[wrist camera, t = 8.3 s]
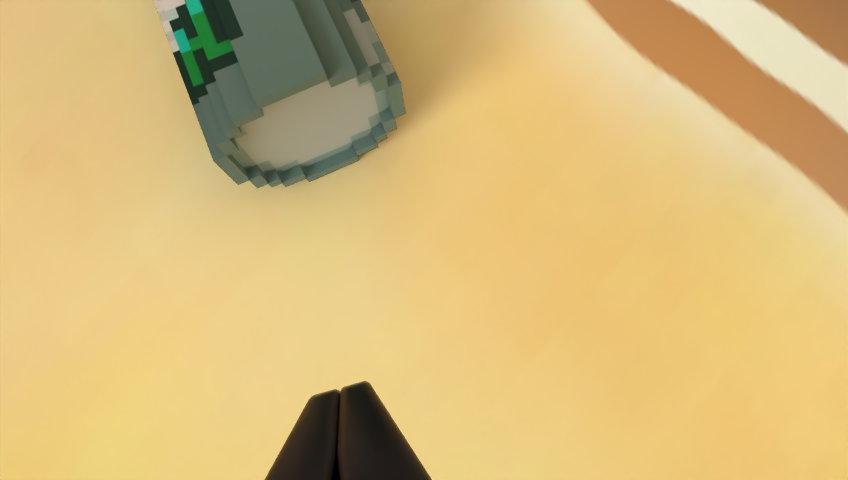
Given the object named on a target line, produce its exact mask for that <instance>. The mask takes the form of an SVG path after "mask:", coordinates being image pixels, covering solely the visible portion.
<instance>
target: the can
mask: <svg viewBox="0 0 848 480" xmlns="http://www.w3.org/2000/svg"><path fill="white" fill-rule="evenodd" d="M153 1H154V4H155V6H156V9H157V12H158V14H159V17H160V20H161V22H162V25H163V28H164V30H165V33H166V36H167V38H168V41H169V44H170V46H171V49H172V52H173V54H174V57H175V59H176V62H177V65H178V67H179V70H180V73H181V75H182V78H183V81H184V83H185V86H186V89H187V91H188V94H189V97H190V99H191V102H192V105H193V107H194V110H195V113H196V115H197V118H198V121H199V123H200V126H201V129H202V131H203V134H204V137H205V139H206V142H207V145H208V147H209V150H210V153H211V155H212V158H213V161H214V162H215V163H216V164H217V165H218V166H219V167H220V168H221V169H222V170H223V171H224V172H225V173H226V174H227V175H228V176H229V177H231V178H232V179H233V180H234V181H235V182H236V183H237V184H238V185H239V184H241V183H244V182H246V181H248V180H250V181H251V182H252V183H253V184H254V185H255V186H256V187H257V188H259V187H262V186H264V185H266V184H269V185H270V186H271V187H274V186H277V185H279V184H281V183H283V184H284V185H285V187H287V186H289V185H291V184H294V183H296V182H298V181H301V180H303V179H305V178H307V180H308V181H309V182H310V181H312V180H315V179H317V178H319V177H322V176H324V175H326V174H329V173H331V172H333V171H336V170H338V169H340V168H343V167H345V166H347V165H350V164H352V163H354V162H357V161H359V157H358V156H359V155H361V154H363V153H366V152H368V151H370V150H373V149H375V148H377V147H378V144H377V142H379V141H382V140H384V139H386V138H387V135H386V133H388V132H390V131H392V130H395V129H397V128H396V123H395V118H396V117H398V116H400V115H403V114H405V107H404V101H403V94H402V88H401V82H400V80H399V78H398V76H397V74H396V72H395V70H394V68H393V66H392V64H391V62H390V60H389V58H388V56H387V54H386V52H385V49H384V47H383V45H382V43H381V41H380V39H379V37H378V35H377V33H376V31H375V29H374V27H373V25H372V23H371V21H370V19H369V17H368V15H367V13H366V11H365V9H364V7H363V5H362V3H361V1H360V0H153Z"/></svg>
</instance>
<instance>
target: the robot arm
mask: <svg viewBox="0 0 848 480" xmlns="http://www.w3.org/2000/svg"><path fill="white" fill-rule="evenodd" d="M265 480H432V479H431V478H430V476H429V475H428V473H427V471H426V470H425V468H424V467H423V465H422V464H421V462H420V461H419V459H418V458H417V456H416V454H415V453H414V451H413V450H412V448H411V447H410V445H409V444H408V442H407V440H406V439H405V437H404V436H403V434H402V433H401V431H400V430H399V428H398V426H397V425H396V423H395V422H394V420H393V419H392V417H391V416H390V414H389V412H388V411H387V409H386V408H385V406H384V405H383V403H382V402H381V400H380V399H379V397H378V395H377V394H376V392H375V391H374V389H373V388H372V386H371V385H370V383H369V382H367V381H363V382H360V383H356V384H352V385H349V386H345V387H343V388H342V389H341V391H339V390H336V389H335V390H331V391H327V392H324V393H320V394H316V395H314V396H312V397H311V398H310V399H309V401H308V402H307V404H306V406H305V408H304V410H303V411H302V413H301V415H300V417H299V419H298V420H297V422H296V424H295V426H294V428H293V429H292V431H291V433H290V435H289V437H288V439H287V440H286V442H285V444H284V446H283V448H282V449H281V451H280V453H279V455H278V457H277V458H276V460H275V462H274V464H273V466H272V467H271V469H270V471H269V473H268V475H267V476H266V478H265Z"/></svg>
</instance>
